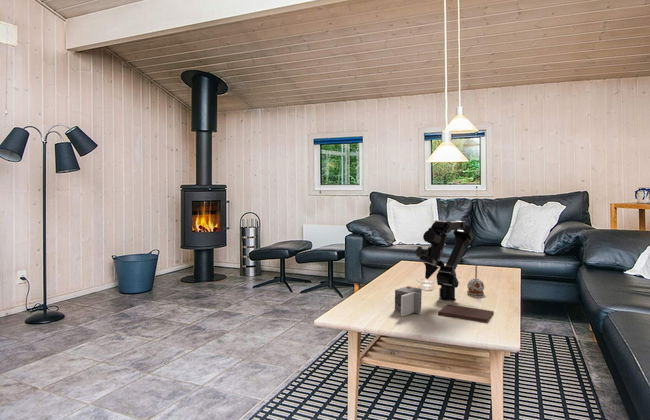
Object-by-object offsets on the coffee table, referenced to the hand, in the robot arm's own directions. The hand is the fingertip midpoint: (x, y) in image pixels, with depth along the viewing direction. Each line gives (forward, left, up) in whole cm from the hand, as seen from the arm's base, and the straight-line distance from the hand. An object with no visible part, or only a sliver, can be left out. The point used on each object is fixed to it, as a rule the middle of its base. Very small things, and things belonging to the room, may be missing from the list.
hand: (426, 278), depth 198 cm
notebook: (-15, +15, -12) cm, 24 cm away
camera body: (+9, +11, -12) cm, 19 cm away
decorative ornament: (-28, -21, -12) cm, 37 cm away
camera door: (+9, +20, -11) cm, 24 cm away
